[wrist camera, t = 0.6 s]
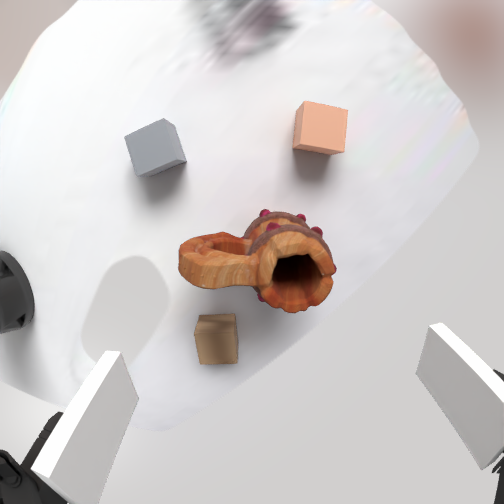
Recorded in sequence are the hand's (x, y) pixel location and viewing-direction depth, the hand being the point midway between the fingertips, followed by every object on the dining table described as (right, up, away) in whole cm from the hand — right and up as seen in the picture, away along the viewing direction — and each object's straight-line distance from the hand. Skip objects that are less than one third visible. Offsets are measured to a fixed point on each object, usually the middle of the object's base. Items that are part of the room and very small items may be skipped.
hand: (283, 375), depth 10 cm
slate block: (-12, +18, +22) cm, 31 cm away
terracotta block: (+6, +20, +22) cm, 30 cm away
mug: (-1, +7, +25) cm, 26 cm away
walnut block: (-6, -6, +29) cm, 30 cm away
